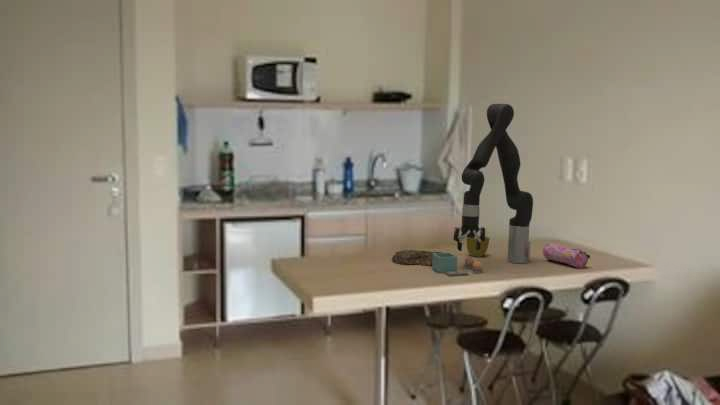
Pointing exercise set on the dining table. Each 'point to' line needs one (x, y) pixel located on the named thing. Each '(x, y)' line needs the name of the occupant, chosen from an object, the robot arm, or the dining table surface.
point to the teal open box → (444, 262)
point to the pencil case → (566, 255)
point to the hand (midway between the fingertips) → (468, 250)
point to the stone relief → (413, 257)
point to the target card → (456, 273)
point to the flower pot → (472, 246)
